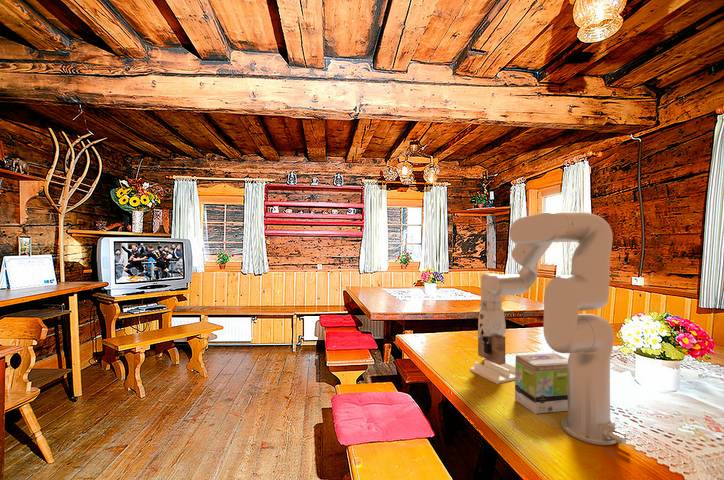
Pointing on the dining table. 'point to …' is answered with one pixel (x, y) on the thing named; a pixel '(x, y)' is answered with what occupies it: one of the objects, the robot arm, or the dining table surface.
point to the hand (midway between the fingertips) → (491, 352)
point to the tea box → (541, 382)
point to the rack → (495, 371)
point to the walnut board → (493, 349)
